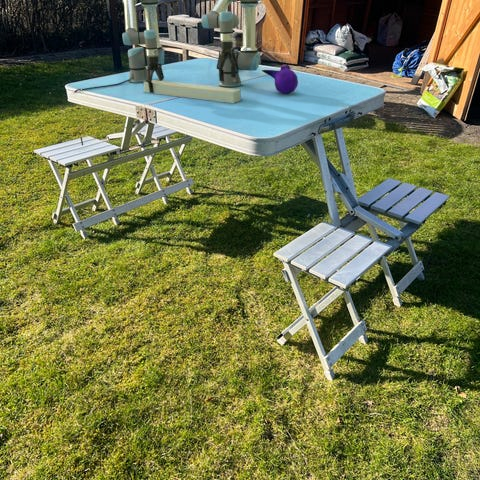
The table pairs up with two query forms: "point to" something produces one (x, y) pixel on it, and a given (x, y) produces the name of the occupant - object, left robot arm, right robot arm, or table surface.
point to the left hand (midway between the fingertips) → (156, 91)
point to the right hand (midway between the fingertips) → (227, 79)
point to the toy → (284, 79)
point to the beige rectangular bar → (195, 91)
